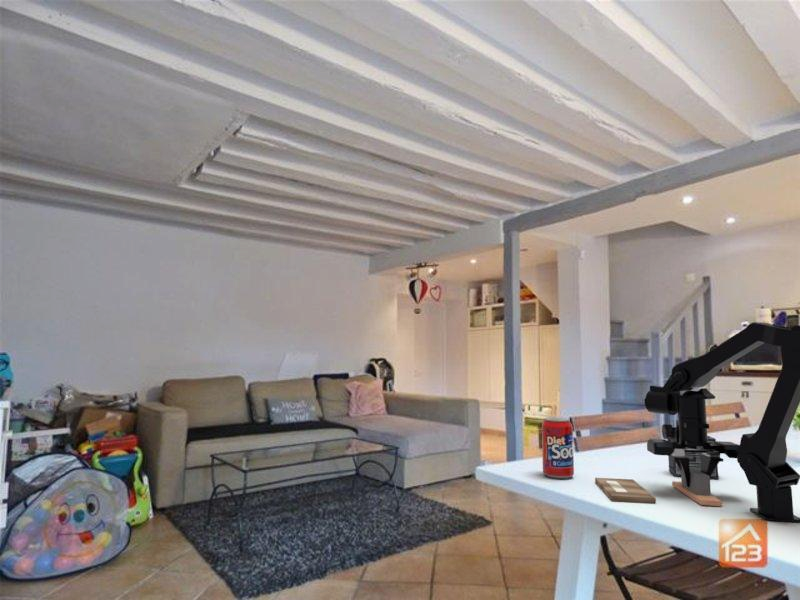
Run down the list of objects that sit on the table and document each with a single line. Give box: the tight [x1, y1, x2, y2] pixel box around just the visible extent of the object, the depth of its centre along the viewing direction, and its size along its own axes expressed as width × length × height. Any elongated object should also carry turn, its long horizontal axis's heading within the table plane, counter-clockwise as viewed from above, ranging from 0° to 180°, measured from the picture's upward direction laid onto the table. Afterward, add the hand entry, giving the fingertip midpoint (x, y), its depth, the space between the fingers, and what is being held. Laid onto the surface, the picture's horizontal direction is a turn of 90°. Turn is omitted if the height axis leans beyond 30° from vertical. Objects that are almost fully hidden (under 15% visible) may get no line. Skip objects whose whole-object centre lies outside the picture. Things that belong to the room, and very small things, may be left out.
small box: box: [666, 435, 720, 480], centre depth 133 cm, size 11×6×10 cm, turn 74°
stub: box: [671, 468, 723, 507], centre depth 114 cm, size 16×4×5 cm, turn 171°
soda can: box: [541, 416, 575, 480], centre depth 131 cm, size 8×8×15 cm
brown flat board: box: [594, 477, 657, 504], centre depth 116 cm, size 16×9×1 cm, turn 171°
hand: (695, 486), depth 114 cm, fingers closed on stub, 3 cm apart
